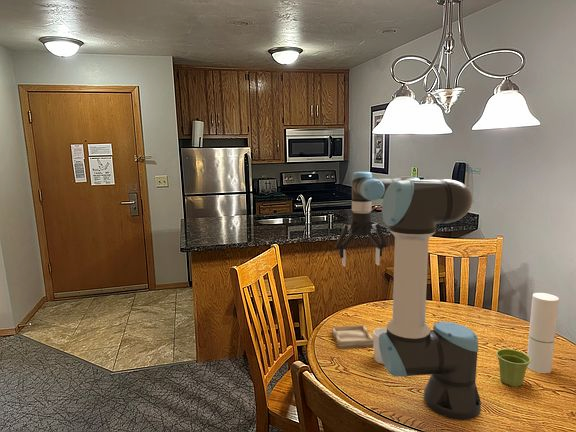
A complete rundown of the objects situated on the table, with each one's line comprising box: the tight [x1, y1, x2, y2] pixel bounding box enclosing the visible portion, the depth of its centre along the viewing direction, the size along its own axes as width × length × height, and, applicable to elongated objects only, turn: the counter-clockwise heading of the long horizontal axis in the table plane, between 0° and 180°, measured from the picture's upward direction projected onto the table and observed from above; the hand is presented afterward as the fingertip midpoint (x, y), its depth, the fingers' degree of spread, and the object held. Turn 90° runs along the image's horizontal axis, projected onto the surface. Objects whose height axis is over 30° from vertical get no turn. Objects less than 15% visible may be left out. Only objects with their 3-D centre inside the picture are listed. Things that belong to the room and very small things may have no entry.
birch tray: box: [331, 324, 373, 350], centre depth 154 cm, size 13×13×2 cm
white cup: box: [372, 327, 387, 365], centre depth 138 cm, size 8×8×10 cm
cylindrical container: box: [526, 292, 560, 374], centre depth 130 cm, size 7×7×25 cm
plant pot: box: [495, 348, 531, 388], centre depth 124 cm, size 9×9×9 cm
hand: (360, 265), depth 157 cm, fingers open, 13 cm apart
